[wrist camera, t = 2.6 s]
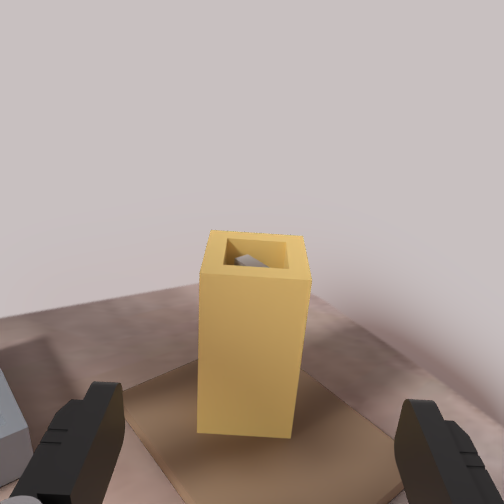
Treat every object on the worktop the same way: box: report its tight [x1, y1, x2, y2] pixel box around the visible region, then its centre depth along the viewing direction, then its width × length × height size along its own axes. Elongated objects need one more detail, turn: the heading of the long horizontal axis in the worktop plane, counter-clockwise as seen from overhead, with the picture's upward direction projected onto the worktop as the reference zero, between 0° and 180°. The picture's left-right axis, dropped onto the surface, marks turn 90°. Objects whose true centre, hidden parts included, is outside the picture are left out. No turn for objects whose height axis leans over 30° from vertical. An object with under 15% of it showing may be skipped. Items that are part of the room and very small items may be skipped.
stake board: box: [122, 254, 404, 504], centre depth 24 cm, size 14×11×10 cm
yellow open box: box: [197, 230, 312, 439], centre depth 27 cm, size 7×5×10 cm
